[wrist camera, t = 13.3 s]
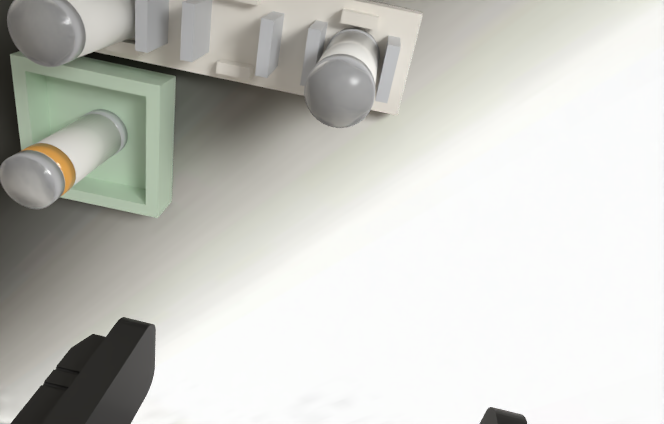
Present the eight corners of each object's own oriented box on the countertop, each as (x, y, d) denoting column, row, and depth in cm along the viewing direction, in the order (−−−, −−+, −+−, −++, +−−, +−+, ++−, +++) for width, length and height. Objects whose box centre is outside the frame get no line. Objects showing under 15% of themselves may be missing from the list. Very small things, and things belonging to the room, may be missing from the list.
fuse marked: (84, 147, 42) (2, 202, 34) (81, 104, 41) (-5, 150, 32) (128, 157, 42) (58, 214, 34) (127, 114, 41) (53, 162, 32)
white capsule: (331, 22, 35) (310, 50, 26) (385, 33, 35) (381, 65, 26) (322, 76, 37) (299, 120, 28) (373, 87, 37) (366, 133, 28)
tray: (35, 46, 39) (9, 54, 37) (175, 75, 39) (160, 85, 37) (47, 175, 45) (26, 190, 42) (171, 201, 45) (157, 218, 42)
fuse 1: (101, -26, 35) (2, -14, 26) (154, -15, 35) (73, 1, 26) (103, 30, 37) (11, 59, 28) (153, 41, 37) (77, 73, 28)
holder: (80, -60, 36) (36, -59, 31) (421, 11, 35) (425, 22, 31) (85, 43, 39) (46, 57, 35) (397, 109, 39) (397, 131, 34)
